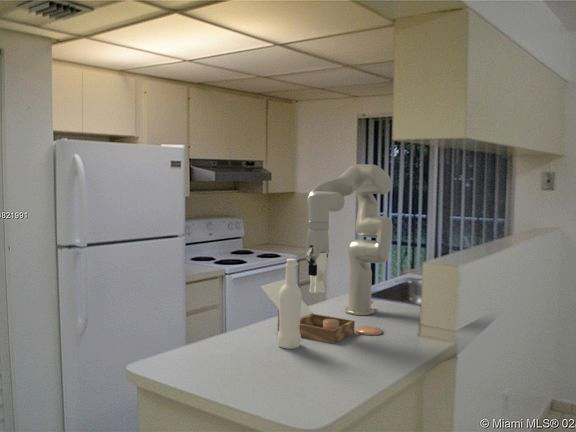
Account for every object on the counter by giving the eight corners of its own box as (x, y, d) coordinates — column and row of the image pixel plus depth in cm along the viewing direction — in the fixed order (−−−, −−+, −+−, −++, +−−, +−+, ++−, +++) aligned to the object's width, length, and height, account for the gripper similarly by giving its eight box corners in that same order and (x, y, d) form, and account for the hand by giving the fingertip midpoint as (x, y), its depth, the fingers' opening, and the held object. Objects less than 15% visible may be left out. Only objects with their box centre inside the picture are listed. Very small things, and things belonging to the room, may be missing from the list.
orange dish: (362, 326, 214) (362, 324, 214) (386, 331, 209) (386, 329, 209) (351, 332, 206) (351, 330, 205) (376, 337, 200) (376, 335, 200)
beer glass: (327, 293, 200) (327, 253, 199) (308, 293, 201) (308, 252, 199) (326, 289, 207) (326, 250, 206) (307, 289, 208) (308, 250, 206)
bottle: (272, 346, 185) (275, 259, 183) (284, 341, 193) (286, 256, 191) (294, 351, 182) (296, 261, 180) (304, 344, 189) (307, 258, 187)
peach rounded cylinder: (327, 334, 203) (327, 318, 202) (340, 336, 200) (341, 320, 199) (320, 337, 198) (320, 321, 198) (333, 340, 195) (334, 323, 195)
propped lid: (282, 319, 222) (283, 279, 221) (313, 324, 215) (314, 283, 214) (258, 328, 208) (259, 285, 207) (290, 334, 201) (291, 290, 199)
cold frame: (312, 324, 215) (312, 313, 215) (354, 332, 205) (354, 320, 205) (289, 334, 201) (289, 322, 200) (333, 343, 191) (333, 330, 191)
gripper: (320, 223, 211) (320, 269, 213) (297, 227, 197) (296, 276, 198) (338, 225, 207) (337, 271, 209) (315, 228, 193) (314, 278, 194)
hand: (317, 273), depth 203 cm, fingers closed on beer glass, 6 cm apart
